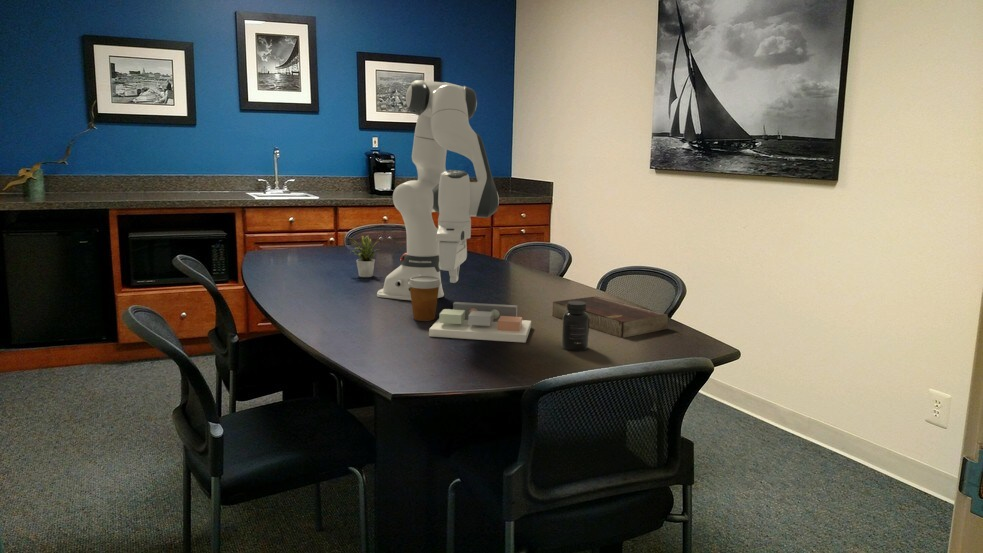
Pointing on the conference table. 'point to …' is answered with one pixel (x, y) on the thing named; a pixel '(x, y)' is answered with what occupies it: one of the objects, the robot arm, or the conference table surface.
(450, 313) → the sage key
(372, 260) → the house plant
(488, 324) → the grey key
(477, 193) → the robot arm
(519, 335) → the keypad
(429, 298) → the disposable coffee cup
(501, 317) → the terracotta key
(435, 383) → the conference table surface
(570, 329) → the supplement bottle
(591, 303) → the hardback book
